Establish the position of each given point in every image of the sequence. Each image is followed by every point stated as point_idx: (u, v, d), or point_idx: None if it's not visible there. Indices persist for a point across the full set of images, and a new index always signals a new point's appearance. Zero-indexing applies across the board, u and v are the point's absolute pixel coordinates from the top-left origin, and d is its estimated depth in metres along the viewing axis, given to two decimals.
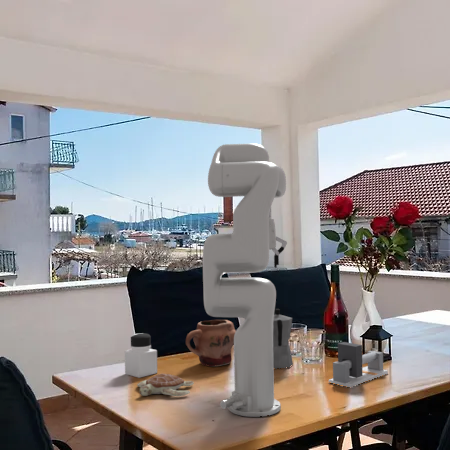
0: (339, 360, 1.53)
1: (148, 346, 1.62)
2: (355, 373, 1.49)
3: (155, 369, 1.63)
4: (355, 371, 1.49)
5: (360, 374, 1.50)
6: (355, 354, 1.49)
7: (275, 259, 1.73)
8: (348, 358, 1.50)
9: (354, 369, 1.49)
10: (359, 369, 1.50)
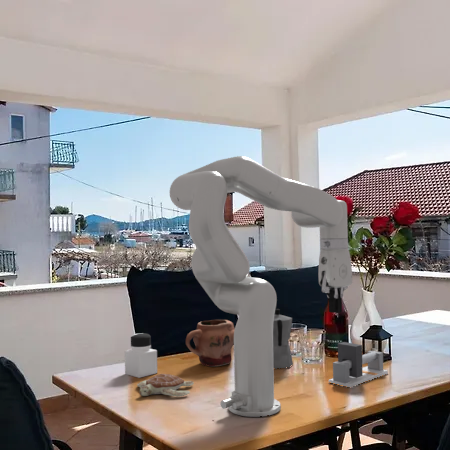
0: (339, 360, 1.53)
1: (148, 346, 1.62)
2: (355, 373, 1.49)
3: (155, 369, 1.63)
4: (355, 371, 1.49)
5: (360, 374, 1.50)
6: (355, 354, 1.49)
7: (341, 302, 1.46)
8: (348, 358, 1.50)
9: (354, 369, 1.49)
10: (359, 369, 1.50)
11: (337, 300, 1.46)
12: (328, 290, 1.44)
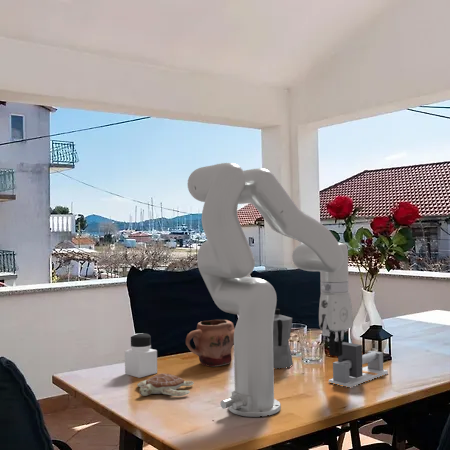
0: (339, 360, 1.53)
1: (148, 346, 1.62)
2: (355, 373, 1.49)
3: (155, 369, 1.63)
4: (355, 371, 1.49)
5: (360, 374, 1.50)
6: (355, 354, 1.49)
7: (341, 345, 1.46)
8: (348, 358, 1.50)
9: (354, 369, 1.49)
10: (359, 369, 1.50)
11: (337, 343, 1.46)
12: (328, 333, 1.44)
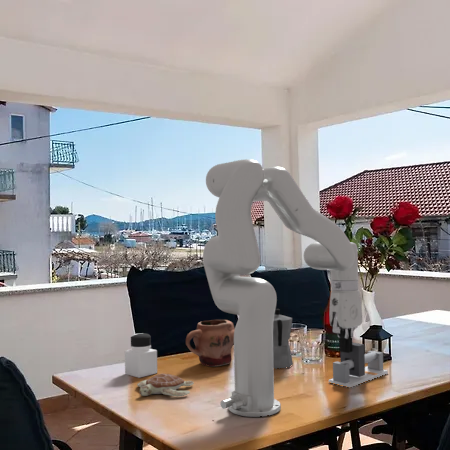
0: (341, 359, 1.53)
1: (148, 346, 1.62)
2: (358, 372, 1.50)
3: (155, 369, 1.63)
4: (357, 370, 1.50)
5: (362, 373, 1.51)
6: (357, 353, 1.50)
7: (351, 342, 1.50)
8: (350, 357, 1.51)
9: (356, 368, 1.50)
10: (361, 368, 1.50)
11: (348, 340, 1.49)
12: (339, 331, 1.47)
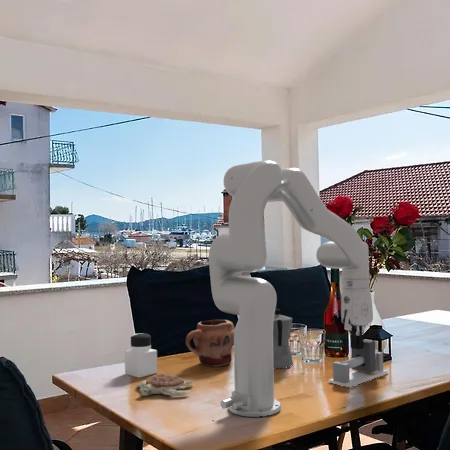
0: (352, 356, 1.57)
1: (148, 346, 1.62)
2: (369, 368, 1.54)
3: (155, 369, 1.63)
4: (368, 366, 1.54)
5: (373, 369, 1.55)
6: (368, 350, 1.54)
7: (362, 339, 1.54)
8: (361, 354, 1.55)
9: (367, 364, 1.54)
10: (372, 364, 1.54)
11: (359, 337, 1.53)
12: (350, 328, 1.51)
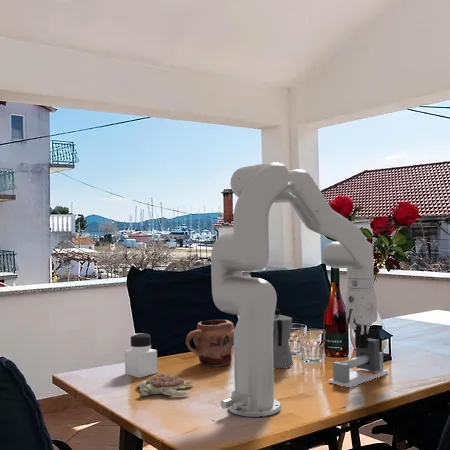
0: (357, 354, 1.59)
1: (148, 346, 1.62)
2: (373, 367, 1.55)
3: (155, 369, 1.63)
4: (373, 365, 1.55)
5: (378, 368, 1.56)
6: (373, 348, 1.55)
7: (366, 338, 1.55)
8: (366, 352, 1.57)
9: (372, 363, 1.56)
10: (377, 363, 1.56)
11: (363, 336, 1.55)
12: (355, 327, 1.53)
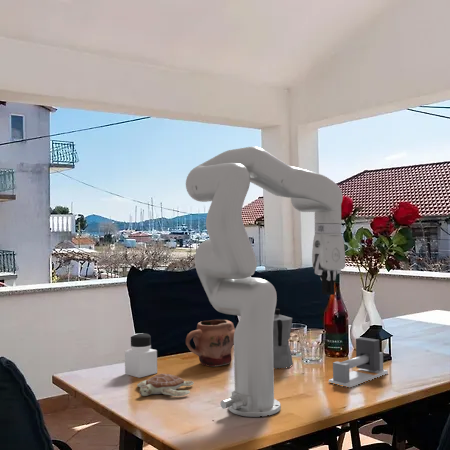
0: (357, 354, 1.59)
1: (148, 346, 1.62)
2: (373, 367, 1.55)
3: (155, 369, 1.63)
4: (373, 365, 1.55)
5: (378, 368, 1.56)
6: (373, 348, 1.55)
7: (333, 285, 1.53)
8: (366, 352, 1.57)
9: (372, 363, 1.56)
10: (377, 363, 1.56)
11: (329, 282, 1.53)
12: (321, 272, 1.51)
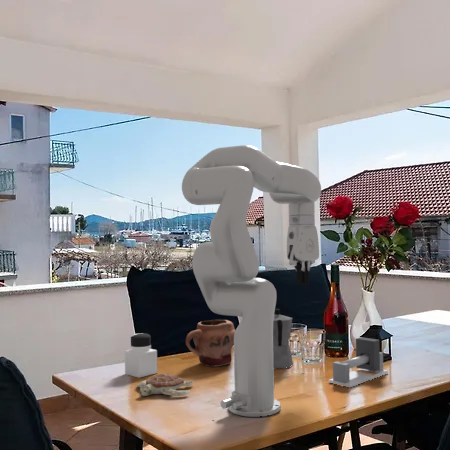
0: (357, 354, 1.59)
1: (148, 346, 1.62)
2: (373, 367, 1.55)
3: (155, 369, 1.63)
4: (373, 365, 1.55)
5: (378, 368, 1.56)
6: (373, 348, 1.55)
7: (307, 275, 1.56)
8: (366, 352, 1.57)
9: (372, 363, 1.56)
10: (377, 363, 1.56)
11: (304, 273, 1.55)
12: (295, 263, 1.54)
